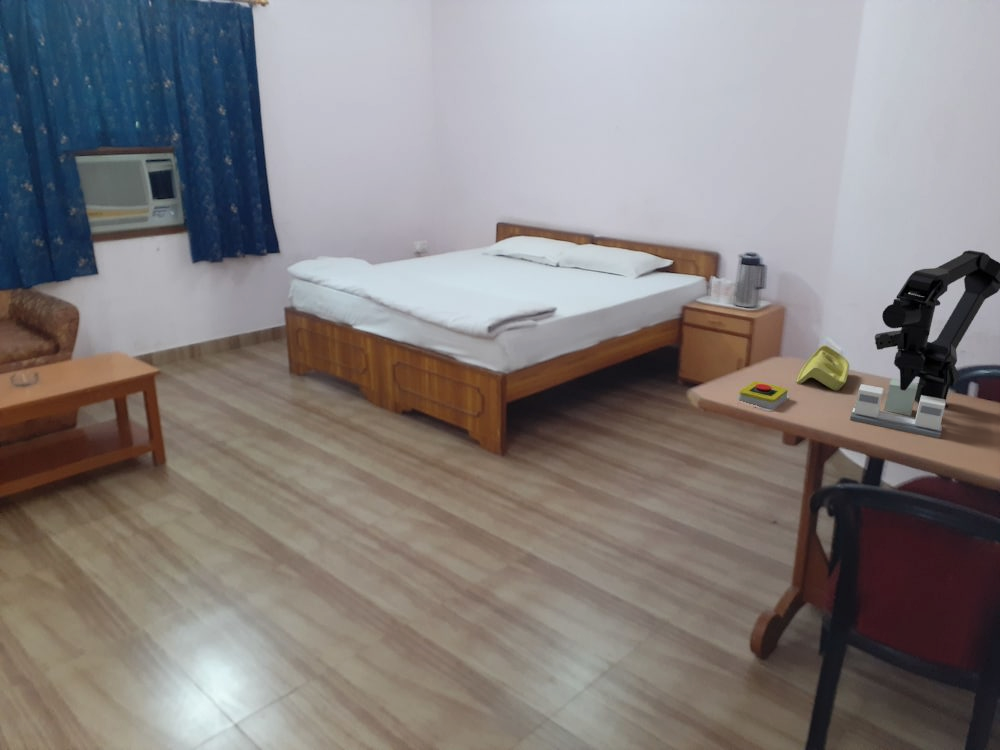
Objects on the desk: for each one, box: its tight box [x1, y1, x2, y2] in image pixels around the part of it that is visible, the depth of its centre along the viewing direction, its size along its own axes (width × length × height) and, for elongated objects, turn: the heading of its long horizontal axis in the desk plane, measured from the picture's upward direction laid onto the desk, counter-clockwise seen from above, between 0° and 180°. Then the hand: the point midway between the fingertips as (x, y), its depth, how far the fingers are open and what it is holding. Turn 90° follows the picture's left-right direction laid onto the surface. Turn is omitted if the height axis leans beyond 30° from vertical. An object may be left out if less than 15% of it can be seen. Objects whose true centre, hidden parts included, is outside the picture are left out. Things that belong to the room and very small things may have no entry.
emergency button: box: [737, 381, 790, 412], centre depth 189 cm, size 9×4×15 cm
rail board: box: [849, 383, 946, 439], centre depth 175 cm, size 19×8×7 cm, turn 60°
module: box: [883, 378, 918, 417], centre depth 184 cm, size 6×5×7 cm
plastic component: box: [795, 344, 850, 391], centre depth 207 cm, size 20×7×10 cm
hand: (903, 384), depth 183 cm, fingers open, 9 cm apart
